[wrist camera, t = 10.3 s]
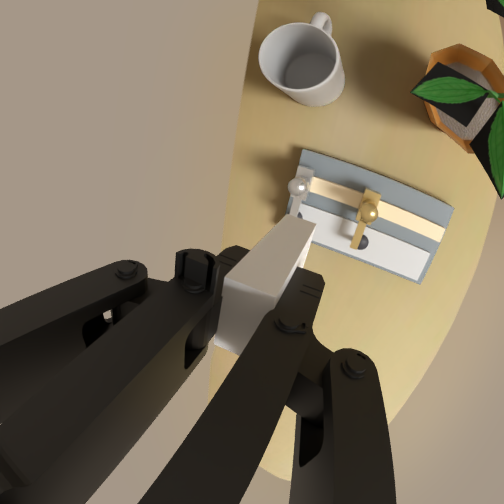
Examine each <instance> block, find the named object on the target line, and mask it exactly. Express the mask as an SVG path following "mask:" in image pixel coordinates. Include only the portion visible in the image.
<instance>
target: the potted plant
mask: <svg viewBox="0 0 504 504" xmlns="http://www.w3.org/2000/svg"><path fill="white" fill-rule="evenodd" d="M486 4H487V9H489V10H491V11H493V12H495V13H496V14H498V15H500V16H502V17H504V0H486ZM410 93H412V94H414V95H415V96H417V97H419V98H421V99H423V100H424V104H425V107H426V109H427V112H428V115H429V118H430V121H431V122H432V123H433V124H435V125H436V126H437V127H438V128H440V129H441V130H442V131H443V132H444V133H446V134H447V135H448V136H449V137H450V138H452V139H453V140H454V141H455V142H456V143H457V144H458V145H460V146H461V147H462V148H463V149H464V150H465V151H466V152H467V153H475V154H476V156H477V158H478V159H479V161H480V162H481V164H482V166H483V167H484V169H485V171H486V173H487V174H488V176H489V178H490V180H491V181H492V183H493V185H494V187H495V189H496V191H497V193H498V195H499V196H500V198H501V199H503V197H504V76H503V74H502V73H501V71H500V70H499V68H498V67H497V65H496V64H495V63H494V61H493V60H492V59H490V58H488V57H486V56H485V55H483V54H481V53H479V52H477V51H475V50H473V49H470V48H468V47H466V46H464V45H462V44H456V45H453V46H450V47H447V48H444V49H441V50H439V51H436V52H433V53H431V57H430V60H429V64H428V68H427V71H426V75H425V76H424V77H423V79H422V80H421V81H420V82H419V83H418V84H417V85H416V86H415V87H414V88H413V89H412V91H411V92H410Z"/></svg>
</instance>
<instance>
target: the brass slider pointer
mask: <svg viewBox="0 0 504 504" xmlns="http://www.w3.org/2000/svg"><path fill="white" fill-rule="evenodd" d="M380 198H381V193H380V192H377V191H375V190H372V189H369V188H367V187H365V190H364V193H363V196H362V199H361V202H360V205H359V208H358V211H357V214H356V219H355V220H357V221H359V222H358V225H357V227H356V230H355V233H354V235H353V238H352V241H351V243H350V248H352V249H355V250H357V248H358V246H359V243H360V241H361V238H362V235H363V233H364V230H365V227H366V225H367V224H368V225H371V223H372V222H374V221H375V220H376V219H377V217H378V210H377V206H378V203H379V200H380Z"/></svg>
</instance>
